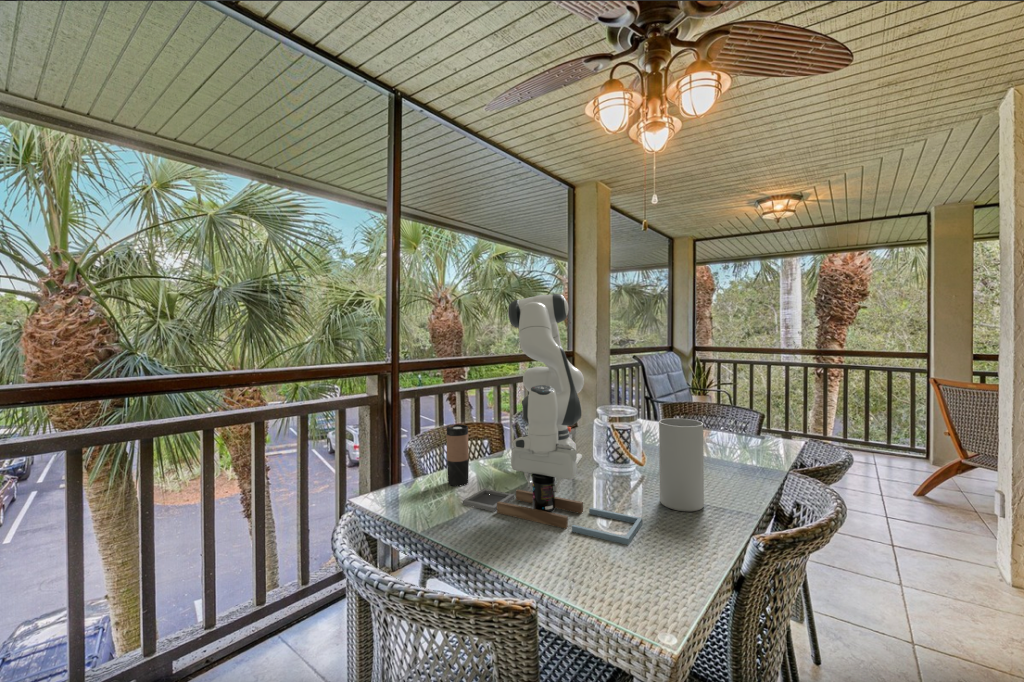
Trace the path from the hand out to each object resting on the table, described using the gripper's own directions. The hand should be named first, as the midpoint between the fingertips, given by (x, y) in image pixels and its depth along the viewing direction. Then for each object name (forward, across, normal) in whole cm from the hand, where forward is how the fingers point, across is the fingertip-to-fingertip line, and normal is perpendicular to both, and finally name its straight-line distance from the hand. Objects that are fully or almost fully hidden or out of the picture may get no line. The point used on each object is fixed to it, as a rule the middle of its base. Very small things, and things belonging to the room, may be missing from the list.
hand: (543, 489), depth 127 cm
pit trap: (+7, +19, 0) cm, 21 cm away
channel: (+7, +1, 0) cm, 7 cm away
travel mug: (+7, +38, -9) cm, 40 cm away
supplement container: (+6, 0, 0) cm, 6 cm away
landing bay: (+7, -19, 0) cm, 20 cm away
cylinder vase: (+7, -34, -26) cm, 43 cm away
